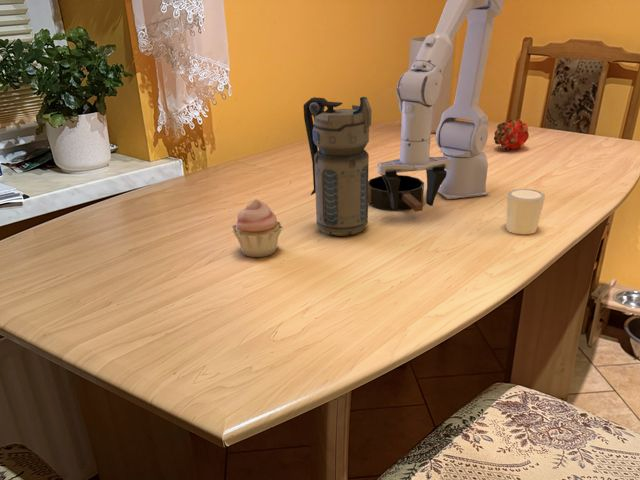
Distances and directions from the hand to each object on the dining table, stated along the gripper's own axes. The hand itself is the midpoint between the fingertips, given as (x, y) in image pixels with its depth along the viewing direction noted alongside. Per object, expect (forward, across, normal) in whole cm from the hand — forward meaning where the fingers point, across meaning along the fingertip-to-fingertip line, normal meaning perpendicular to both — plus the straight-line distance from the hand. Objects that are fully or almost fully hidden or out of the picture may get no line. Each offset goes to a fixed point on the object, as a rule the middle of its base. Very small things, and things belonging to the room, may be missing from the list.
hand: (411, 206), depth 130 cm
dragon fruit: (+2, +44, +42) cm, 61 cm away
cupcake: (+3, -33, -8) cm, 34 cm away
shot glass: (+2, +18, -12) cm, 22 cm away
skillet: (+2, 0, +6) cm, 7 cm away
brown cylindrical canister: (+3, -16, -2) cm, 16 cm away
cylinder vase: (+2, +31, +70) cm, 77 cm away
